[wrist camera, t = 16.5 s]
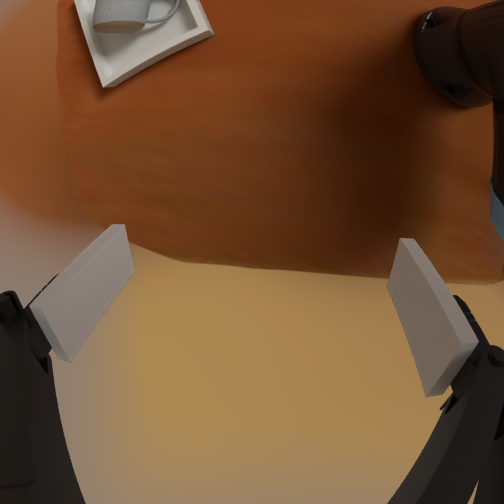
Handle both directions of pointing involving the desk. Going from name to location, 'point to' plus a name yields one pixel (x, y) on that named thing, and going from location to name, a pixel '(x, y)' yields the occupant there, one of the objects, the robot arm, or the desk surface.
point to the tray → (142, 38)
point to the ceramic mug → (125, 15)
